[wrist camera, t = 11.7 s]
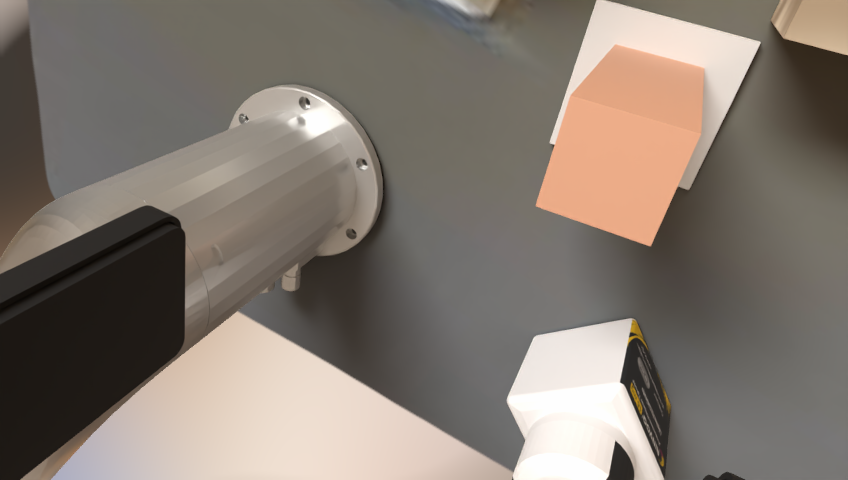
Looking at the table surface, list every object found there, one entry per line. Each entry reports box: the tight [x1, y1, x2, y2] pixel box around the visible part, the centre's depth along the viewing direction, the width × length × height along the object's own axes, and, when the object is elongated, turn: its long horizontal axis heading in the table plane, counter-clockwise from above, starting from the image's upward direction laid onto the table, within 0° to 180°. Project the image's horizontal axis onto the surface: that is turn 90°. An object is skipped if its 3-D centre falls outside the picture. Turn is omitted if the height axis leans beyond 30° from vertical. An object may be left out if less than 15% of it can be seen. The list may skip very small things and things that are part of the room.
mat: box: [550, 0, 761, 190], centre depth 31 cm, size 8×8×1 cm
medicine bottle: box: [507, 318, 671, 480], centre depth 35 cm, size 7×7×12 cm
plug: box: [536, 44, 704, 247], centre depth 26 cm, size 4×4×12 cm
